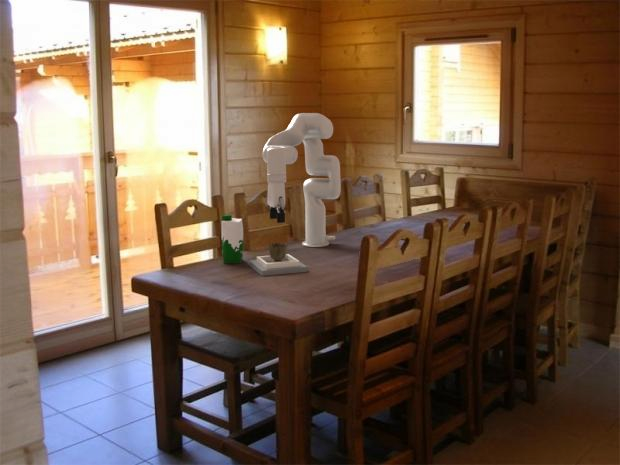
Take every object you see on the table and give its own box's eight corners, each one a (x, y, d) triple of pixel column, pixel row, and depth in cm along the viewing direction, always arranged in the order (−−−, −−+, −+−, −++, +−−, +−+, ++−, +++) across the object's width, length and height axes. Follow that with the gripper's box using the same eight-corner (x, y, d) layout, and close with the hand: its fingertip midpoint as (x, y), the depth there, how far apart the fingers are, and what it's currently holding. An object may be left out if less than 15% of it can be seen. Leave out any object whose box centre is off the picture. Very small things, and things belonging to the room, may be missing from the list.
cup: (265, 264, 294) (265, 244, 292) (274, 260, 300) (274, 241, 299) (281, 266, 290) (281, 246, 289) (290, 262, 297) (290, 243, 295)
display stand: (292, 261, 307) (292, 252, 306) (307, 271, 289) (307, 261, 289) (249, 265, 301) (248, 255, 300) (261, 275, 283) (261, 265, 282)
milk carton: (223, 259, 312) (222, 213, 309) (244, 259, 312) (243, 213, 308) (221, 263, 304) (219, 216, 300) (242, 263, 304) (241, 216, 300)
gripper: (261, 176, 295) (262, 217, 298) (274, 181, 279) (274, 224, 282) (279, 175, 297) (279, 216, 301) (292, 180, 281) (292, 223, 285)
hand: (277, 220), depth 291 cm, fingers open, 9 cm apart
